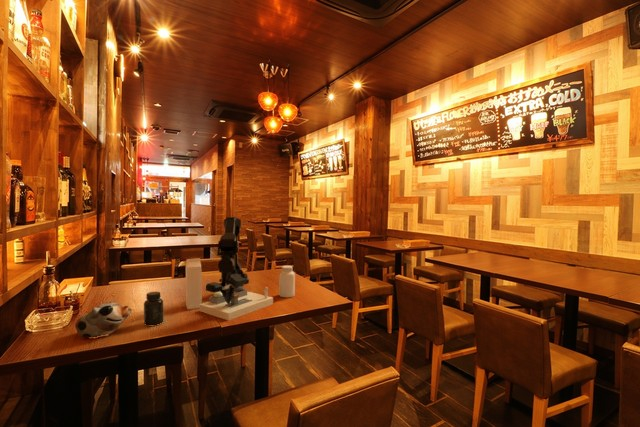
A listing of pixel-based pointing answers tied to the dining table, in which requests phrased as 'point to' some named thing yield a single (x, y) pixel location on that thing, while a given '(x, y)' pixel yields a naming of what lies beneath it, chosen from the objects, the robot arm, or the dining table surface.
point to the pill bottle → (287, 282)
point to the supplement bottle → (153, 309)
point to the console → (245, 305)
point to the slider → (234, 299)
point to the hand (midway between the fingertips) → (228, 303)
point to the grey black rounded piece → (102, 320)
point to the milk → (193, 283)
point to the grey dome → (239, 289)
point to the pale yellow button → (218, 295)
